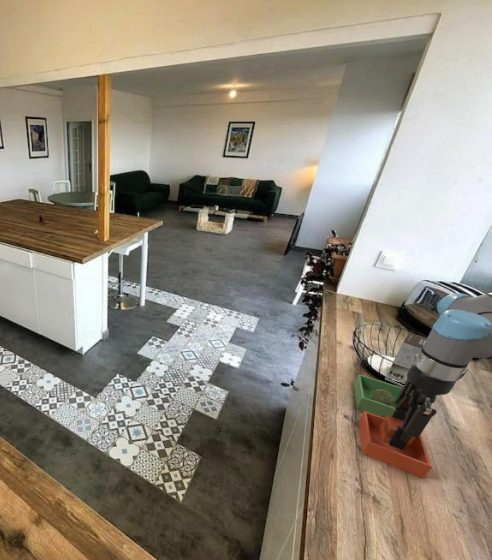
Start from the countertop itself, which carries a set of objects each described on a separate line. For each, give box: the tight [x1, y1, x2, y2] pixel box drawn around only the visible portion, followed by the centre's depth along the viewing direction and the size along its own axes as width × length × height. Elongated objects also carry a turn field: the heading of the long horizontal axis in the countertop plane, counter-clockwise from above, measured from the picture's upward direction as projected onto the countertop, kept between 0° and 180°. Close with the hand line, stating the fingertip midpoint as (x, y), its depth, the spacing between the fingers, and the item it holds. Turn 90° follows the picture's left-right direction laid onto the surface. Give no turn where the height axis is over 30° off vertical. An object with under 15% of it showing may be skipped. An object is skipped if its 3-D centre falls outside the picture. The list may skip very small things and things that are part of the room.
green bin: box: [353, 373, 407, 418], centre depth 97 cm, size 12×12×4 cm
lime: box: [372, 389, 394, 406], centre depth 97 cm, size 4×5×5 cm
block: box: [380, 415, 415, 450], centre depth 82 cm, size 5×5×5 cm
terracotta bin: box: [358, 411, 433, 479], centre depth 84 cm, size 12×12×4 cm
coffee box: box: [384, 332, 428, 388], centre depth 105 cm, size 9×6×16 cm
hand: (393, 438), depth 83 cm, fingers closed on block, 5 cm apart
